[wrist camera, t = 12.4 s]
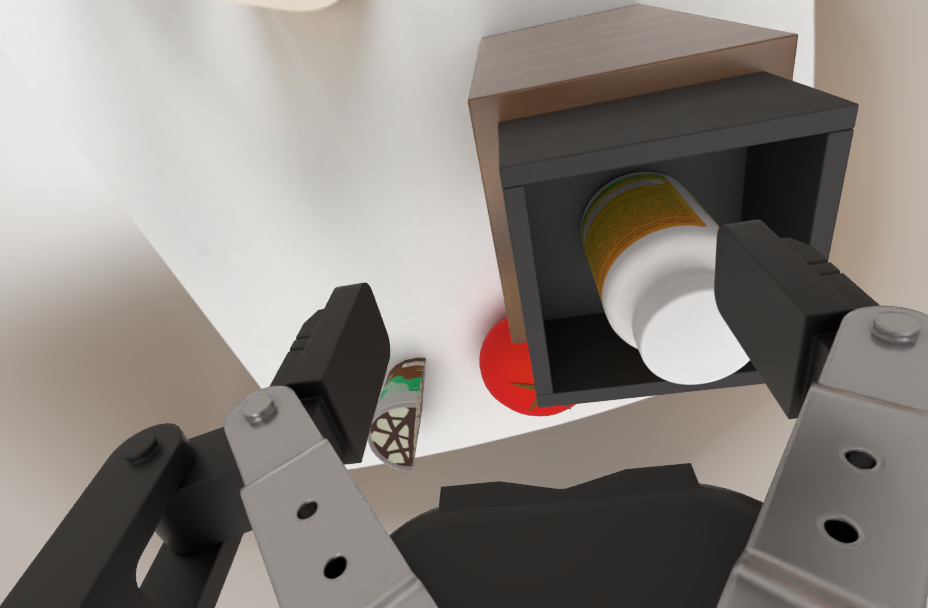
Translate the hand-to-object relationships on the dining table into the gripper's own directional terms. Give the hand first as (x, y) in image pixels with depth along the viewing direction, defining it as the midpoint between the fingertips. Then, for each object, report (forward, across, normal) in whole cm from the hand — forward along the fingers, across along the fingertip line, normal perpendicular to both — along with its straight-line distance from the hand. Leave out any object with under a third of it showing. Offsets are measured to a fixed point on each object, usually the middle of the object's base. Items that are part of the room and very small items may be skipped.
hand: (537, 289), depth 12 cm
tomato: (+42, +2, +32) cm, 53 cm away
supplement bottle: (+14, -5, +5) cm, 15 cm away
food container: (+42, +21, +37) cm, 60 cm away
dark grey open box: (+14, -5, +5) cm, 16 cm away
